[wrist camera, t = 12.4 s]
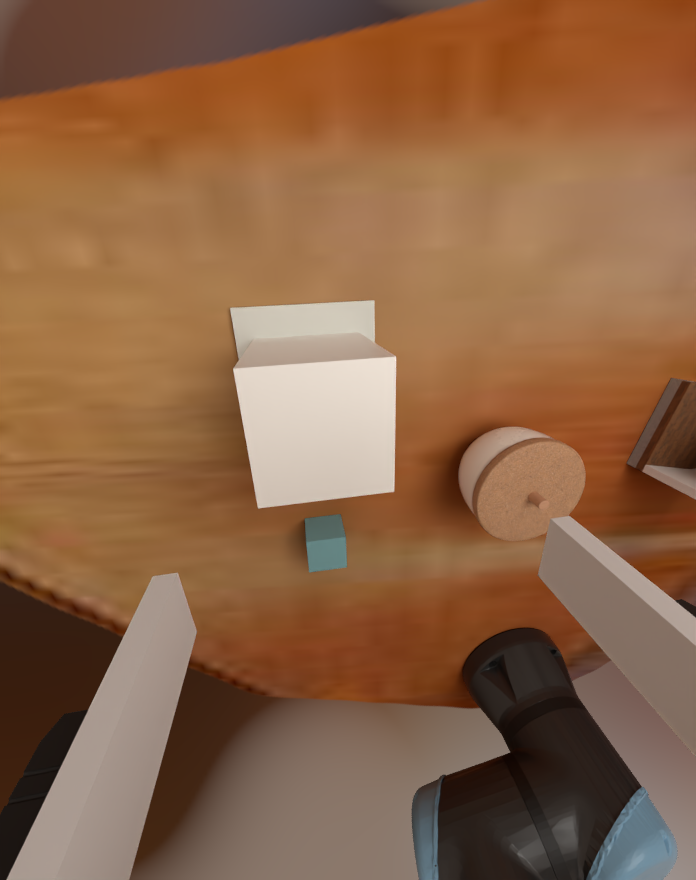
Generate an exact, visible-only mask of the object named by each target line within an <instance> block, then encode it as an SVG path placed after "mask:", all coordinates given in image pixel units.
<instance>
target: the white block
mask: <svg viewBox="0 0 696 880" xmlns="http://www.w3.org/2000/svg"><path fill="white" fill-rule="evenodd" d="M233 371H234V376H235V382H236V387H237V393H238V399H239V404H240V410H241V415H242V421H243V427H244V432H245V438H246V444H247V449H248V455H249V460H250V466H251V472H252V477H253V483H254V488H255V494H256V500H257V505H258V508H265V507H273V506H281V505H290V504H298V503H306V502H314V501H322V500H330V499H338V498H346V497H354V496H362V495H371V494H379V493H387V492H394V476H395V401H396V356H394V355H393V354H391V353H390V352H388V351H387V350H385V349H384V348H382V347H380V346H379V345H377V344H376V343H374V342H373V341H371V340H370V339H368V338H367V337H365V336H363V335H362V334H360V333H359V332H351V333H335V334H319V335H304V336H288V337H273V338H257V339H253V340H252V342H251V343H250V345H249V346H248V348H247V349H246V351H245V352H244V354H243V355H242V356H241V358H240V359H239V361H238V362H237V364H236V365H235V367H234V368H233Z"/></svg>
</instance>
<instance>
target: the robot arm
mask: <svg viewBox="0 0 696 880" xmlns="http://www.w3.org/2000/svg"><path fill="white" fill-rule="evenodd" d="M538 576H539V577H540V579H541V580H542V581H543V582H544V583H545V584H546V585H547V587H548V588H549V589H550V590H551V591H552V592H553V594H554V595H555V596H556V597H557V598H558V599H559V600H560V602H561V603H562V604H563V605H564V606H565V607H566V608H567V610H568V611H569V612H570V613H571V614H572V615H573V616H574V618H575V619H576V620H577V621H578V622H579V623H580V625H581V626H582V627H583V628H584V629H585V630H586V631H587V633H588V634H589V635H590V636H591V637H592V638H593V639H594V641H595V642H596V643H597V644H598V645H599V646H600V648H601V649H602V650H603V651H604V652H605V653H606V654H607V656H608V657H609V658H610V659H611V660H612V661H613V662H614V664H615V665H616V666H617V667H618V668H619V669H620V670H621V672H622V673H623V674H624V675H625V676H626V677H627V679H628V680H629V681H630V682H631V683H632V684H633V685H634V687H636V689H637V690H638V691H639V692H640V693H641V695H642V696H643V697H644V698H645V699H646V700H647V702H648V703H649V704H650V705H651V706H652V707H653V708H654V709H655V711H656V712H657V713H658V714H659V715H660V716H661V718H662V719H663V720H664V721H665V722H666V723H667V724H668V726H669V727H670V728H671V729H672V730H673V731H674V732H675V734H676V735H677V736H678V737H679V738H680V739H681V740H682V742H683V743H684V744H685V745H686V746H687V747H688V749H689V750H690V751H691V752H692V753H693V754H694V755H695V757H696V607H695V606H693V605H691V604H690V603H688V602H686V601H684V600H682V599H681V600H675V601H674V600H673V599H672V598H671V597H669V596H668V595H667V594H666V593H664V592H663V591H662V590H661V589H660V588H658V587H657V586H656V585H655V584H653V583H652V582H651V581H650V580H648V579H647V578H646V577H645V576H643V575H642V574H641V573H640V572H638V571H637V570H636V569H635V568H633V567H632V566H631V565H630V564H628V563H627V562H626V561H625V560H623V559H622V558H621V557H620V556H619V555H617V554H616V553H615V552H614V551H612V550H611V549H610V548H609V547H607V546H606V545H605V544H604V543H602V542H601V541H600V540H599V539H597V538H596V537H595V536H594V535H592V534H591V533H590V532H589V531H587V530H586V529H585V528H584V527H583V526H581V525H580V524H579V523H578V522H576V521H575V520H574V519H573V518H571V517H570V516H565V517H559V518H552V519H550V523H549V527H548V532H547V536H546V541H545V545H544V550H543V554H542V559H541V563H540V568H539V573H538ZM196 633H197V631H196V628H195V625H194V621H193V618H192V615H191V612H190V609H189V606H188V603H187V600H186V597H185V594H184V591H183V587H182V584H181V581H180V578H179V575H178V573H172V574H166V575H159V576H153V577H152V579H151V581H150V583H149V585H148V587H147V589H146V591H145V594H144V596H143V598H142V600H141V602H140V604H139V606H138V608H137V610H136V612H135V614H134V616H133V618H132V620H131V623H130V625H129V627H128V629H127V631H126V633H125V635H124V637H123V639H122V641H121V643H120V645H119V647H118V650H117V652H116V654H115V656H114V658H113V660H112V662H111V664H110V666H109V668H108V671H107V673H106V674H105V676H104V679H103V681H102V683H101V685H100V687H99V689H98V691H97V693H96V695H95V697H94V699H93V701H92V703H91V706H90V708H89V710H84V711H78V712H72V713H68V714H64V715H63V716H62V717H61V719H60V720H59V721H58V722H57V723H56V724H55V725H54V727H53V728H52V729H51V730H50V731H49V732H48V734H47V735H46V736H45V737H44V738H43V739H42V740H41V742H40V744H39V745H38V747H37V749H36V751H35V753H34V755H33V756H32V758H31V760H30V762H29V764H28V765H27V767H26V769H25V771H24V775H23V777H22V778H21V779H20V780H19V781H18V783H17V785H16V787H15V789H14V791H13V792H12V794H11V796H10V798H9V803H8V804H7V806H5V807H4V808H3V810H2V812H1V814H0V880H129V877H130V874H131V870H132V867H133V863H134V859H135V856H136V852H137V849H138V845H139V841H140V837H141V834H142V830H143V827H144V823H145V819H146V816H147V812H148V808H149V805H150V801H151V798H152V794H153V790H154V787H155V783H156V779H157V775H158V772H159V768H160V765H161V761H162V757H163V754H164V750H165V746H166V742H167V739H168V735H169V732H170V728H171V725H172V721H173V717H174V714H175V710H176V706H177V703H178V698H179V695H180V691H181V688H182V684H183V681H184V677H185V673H186V670H187V666H188V662H189V659H190V655H191V652H192V648H193V644H194V641H195V637H196ZM463 679H464V682H465V684H466V686H467V689H468V691H469V693H470V695H471V697H472V698H473V700H474V701H475V702H476V703H477V704H478V706H479V707H480V708H481V709H482V711H483V712H484V713H485V714H486V715H487V717H488V718H489V719H490V720H491V721H492V723H493V724H494V725H495V726H496V728H497V729H498V730H499V731H500V733H501V734H502V736H503V738H504V740H505V742H506V744H507V746H508V748H509V750H510V753H508V754H505V755H503V756H500V757H497V758H494V759H492V760H489V761H486V762H484V763H481V764H478V765H475V766H472V767H469V768H466V769H464V770H461V771H458V772H455V773H452V774H449V775H447V776H446V775H442V776H440V778H439V779H438V780H436V781H433V782H431V783H429V784H427V785H424V786H422V787H421V788H419V789H418V790H417V792H416V793H415V795H414V798H413V803H412V829H413V830H412V831H413V841H414V850H415V857H416V864H417V870H418V877H419V880H663V879H664V877H666V875H667V874H668V873H669V872H670V871H671V869H672V868H673V866H674V864H675V862H676V859H677V845H676V841H675V838H674V836H673V834H672V832H671V830H670V829H669V827H668V826H667V824H666V823H665V821H664V820H663V818H662V817H661V815H660V814H659V812H658V811H657V809H656V808H655V806H654V805H653V803H652V802H651V800H650V799H649V797H648V793H647V791H646V790H645V788H644V787H642V786H641V785H640V784H639V782H638V781H637V779H636V778H635V777H634V775H633V774H632V772H631V771H630V770H629V768H628V767H627V765H626V764H625V762H624V761H623V760H622V758H621V757H620V756H619V754H618V753H617V751H616V750H615V748H614V747H613V746H612V744H611V743H610V741H609V740H608V739H607V737H606V736H605V735H604V733H603V732H602V730H601V729H600V727H599V726H598V725H597V723H596V722H595V720H594V719H593V718H592V716H591V715H590V713H589V712H588V711H587V709H586V708H585V706H584V705H583V703H582V702H581V701H580V699H579V698H578V696H577V694H576V691H575V689H574V686H573V683H572V681H571V678H570V675H569V673H568V670H567V668H566V665H565V662H564V660H563V657H562V655H561V653H560V651H559V649H558V648H557V646H556V645H555V644H554V642H553V641H552V640H551V638H550V637H549V636H548V635H547V634H546V633H544V632H542V631H540V630H537V629H531V628H522V629H515V630H510V631H507V632H504V633H501V634H499V635H497V636H494V637H493V638H491V639H489V640H487V641H486V642H484V643H483V644H482V645H480V646H479V647H478V648H477V649H476V650H475V651H474V652H473V653H472V654H471V655H470V657H469V658H468V659H467V661H466V663H465V665H464V668H463Z"/></svg>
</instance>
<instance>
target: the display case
mask: <svg viewBox="0 0 696 880" xmlns="http://www.w3.org/2000/svg"><path fill="white" fill-rule="evenodd" d="M627 464H628V465H630V466H632V467H634V468H636V469H638V470H640V471H642V472H644V473H646V474H648V475H650V476H651V477H653V478H655V479H657V480H659V481H661V482H663V483H665V484H667V485H669V486H671V487H673V488H675V489H676V490H678V491H680V492H682V493H684V494H686V495H688V496H690V497H692V498H694V499H696V382H692V381H687V380H681V379H675V378H671V380H670V382H669V384H668V386H667V387H666V389H665V391H664V393H663V395H662V397H661V399H660V401H659V403H658V405H657V406H656V408H655V410H654V412H653V414H652V416H651V418H650V420H649V422H648V424H647V425H646V427H645V429H644V431H643V433H642V435H641V437H640V439H639V441H638V443H637V444H636V446H635V448H634V450H633V452H632V454H631V456H630V458H629V460H628V462H627Z"/></svg>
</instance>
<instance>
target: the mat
mask: <svg viewBox="0 0 696 880" xmlns="http://www.w3.org/2000/svg"><path fill="white" fill-rule="evenodd" d="M230 311H231V317H232V323H233V329H234V334H235V340H236V346H237V352H238V358H239V359H240V358H241V356H242V355H243V354H244V352H245V351H246V349H247V348H248V346H249V345H250V343H251V342H252V340H253V339H257V338H273V337H288V336H304V335H319V334H335V333H351V332H359V333H360V334H362V335H363V336H365V337H367V338H368V339H370V340H371V341H373V342H374V343H375V320H374V300H368V301H349V302H330V303H311V304H293V305H274V306H255V307H236V308H230Z"/></svg>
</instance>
